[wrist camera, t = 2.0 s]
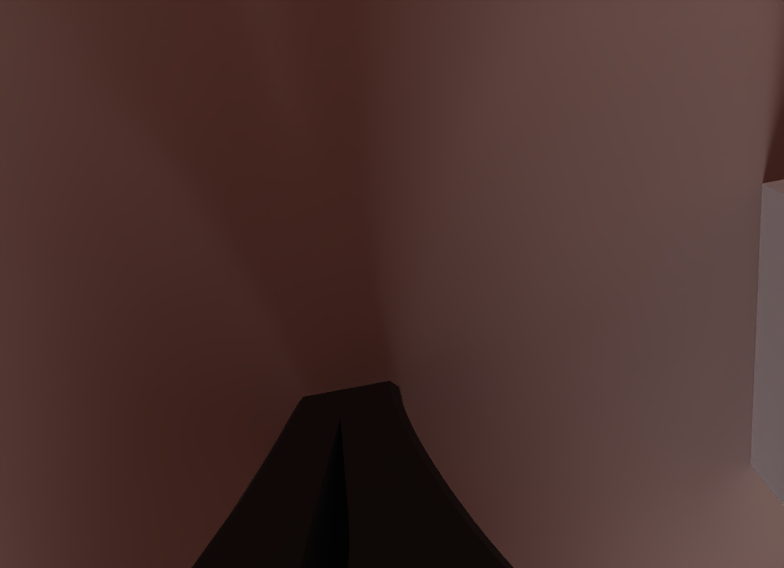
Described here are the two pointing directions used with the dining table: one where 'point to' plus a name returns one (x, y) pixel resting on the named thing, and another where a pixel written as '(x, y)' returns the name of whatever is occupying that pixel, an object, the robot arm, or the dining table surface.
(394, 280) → the dining table surface
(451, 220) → the dining table surface
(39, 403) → the dining table surface
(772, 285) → the pale grey notched block
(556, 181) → the dining table surface
